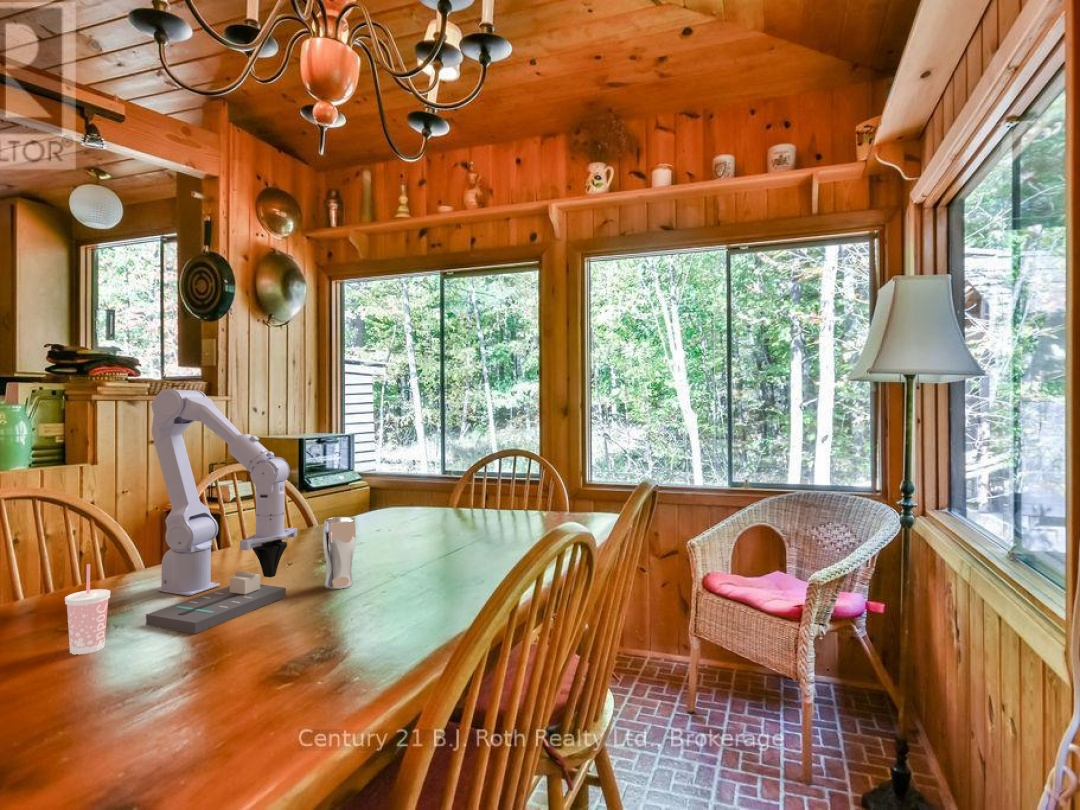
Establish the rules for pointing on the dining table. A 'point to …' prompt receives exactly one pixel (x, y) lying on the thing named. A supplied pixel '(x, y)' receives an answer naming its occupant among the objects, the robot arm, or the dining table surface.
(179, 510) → the robot arm
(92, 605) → the beverage cup
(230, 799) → the dining table surface
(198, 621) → the console
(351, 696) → the dining table surface
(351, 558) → the beer glass
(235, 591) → the fader tab
